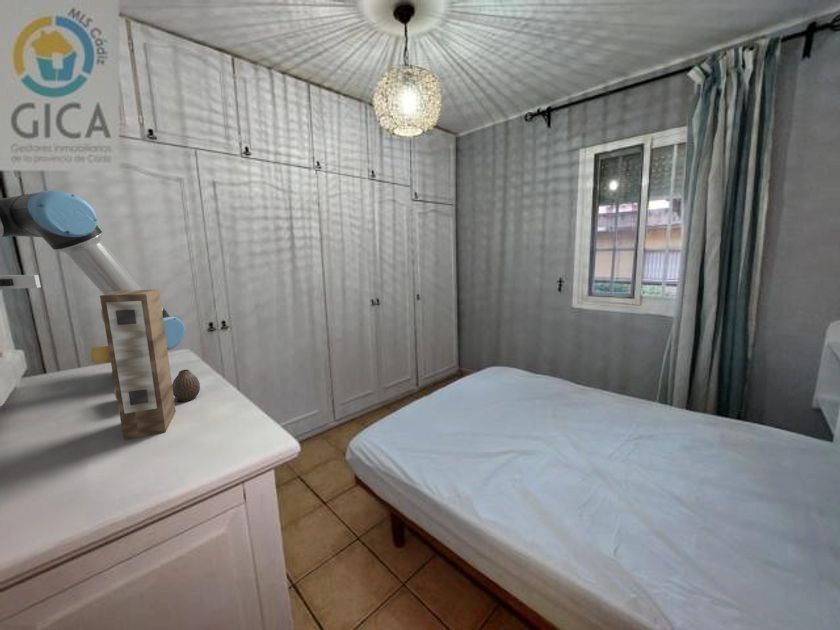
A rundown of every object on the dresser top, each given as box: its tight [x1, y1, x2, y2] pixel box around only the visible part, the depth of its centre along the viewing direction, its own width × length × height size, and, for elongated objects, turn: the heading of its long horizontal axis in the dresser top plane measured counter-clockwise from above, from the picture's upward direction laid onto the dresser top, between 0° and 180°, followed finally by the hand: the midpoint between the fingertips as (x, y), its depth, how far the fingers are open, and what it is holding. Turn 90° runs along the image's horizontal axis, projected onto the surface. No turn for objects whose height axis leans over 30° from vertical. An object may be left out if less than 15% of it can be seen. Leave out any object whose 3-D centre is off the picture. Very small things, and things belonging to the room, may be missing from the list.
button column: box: [99, 288, 177, 441], centre depth 82 cm, size 8×13×34 cm, turn 26°
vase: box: [172, 369, 201, 402], centre depth 100 cm, size 7×7×9 cm
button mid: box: [90, 345, 111, 365], centre depth 79 cm, size 4×4×4 cm
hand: (37, 281), depth 72 cm, fingers closed
